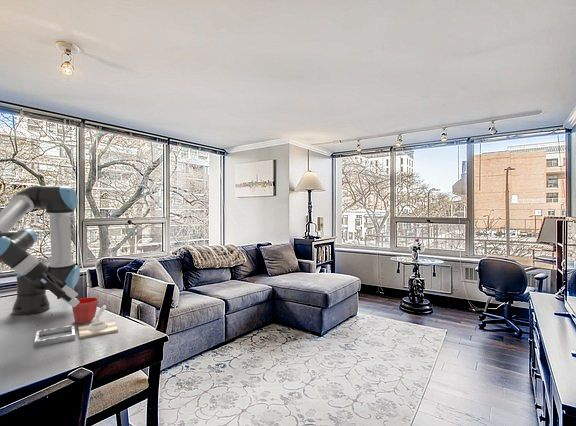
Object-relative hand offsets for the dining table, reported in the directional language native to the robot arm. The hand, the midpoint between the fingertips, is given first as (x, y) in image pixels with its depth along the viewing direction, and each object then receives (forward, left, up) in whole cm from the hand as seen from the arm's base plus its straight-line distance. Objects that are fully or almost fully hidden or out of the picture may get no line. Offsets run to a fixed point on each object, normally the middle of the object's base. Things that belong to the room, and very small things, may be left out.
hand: (76, 300), depth 135 cm
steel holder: (0, -7, -14) cm, 16 cm away
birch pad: (0, +8, -14) cm, 16 cm away
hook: (-1, +8, -13) cm, 16 cm away
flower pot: (-17, +4, -14) cm, 23 cm away
